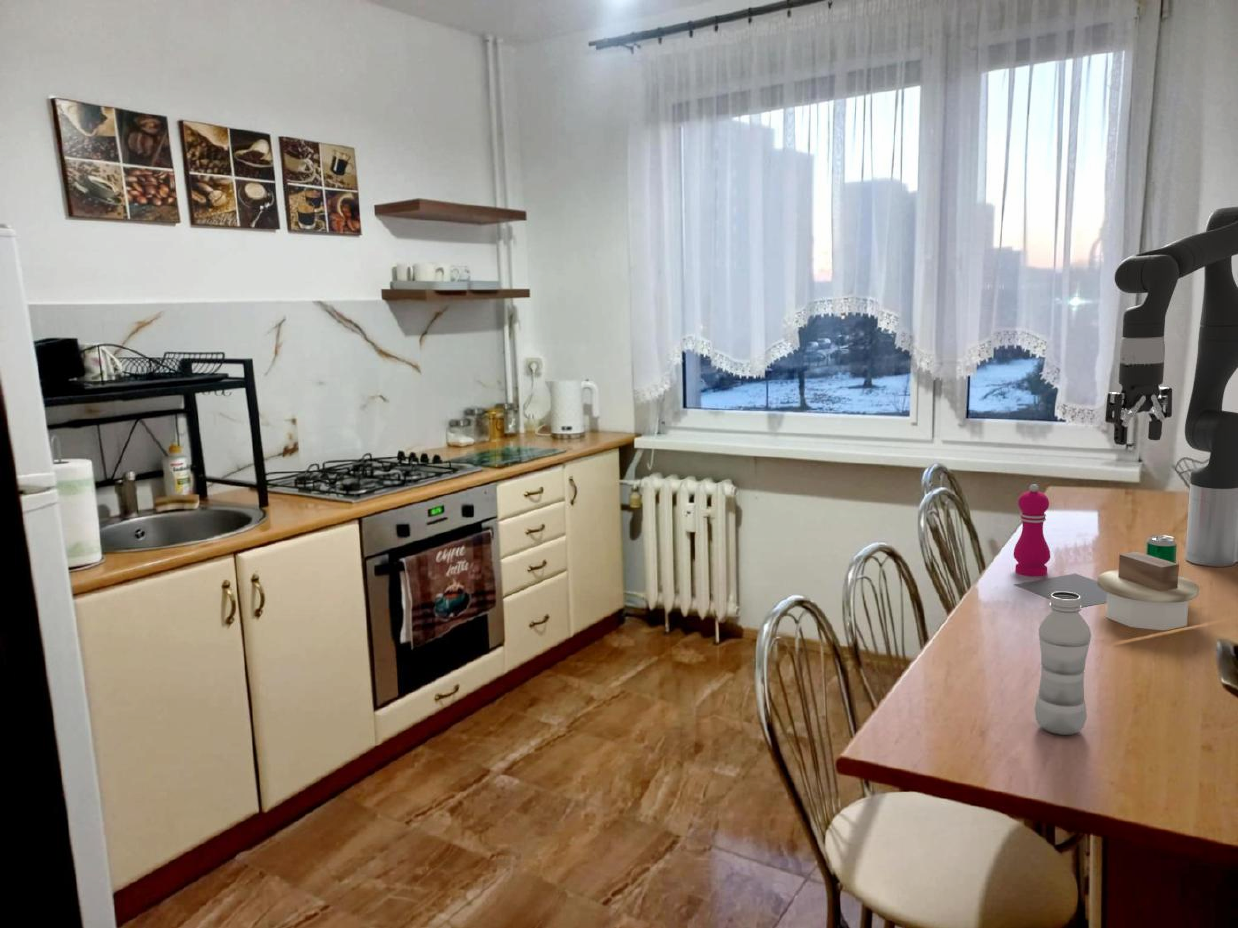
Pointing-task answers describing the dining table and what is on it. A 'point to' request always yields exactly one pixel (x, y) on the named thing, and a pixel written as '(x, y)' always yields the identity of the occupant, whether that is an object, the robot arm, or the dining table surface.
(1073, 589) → the mat
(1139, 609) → the bowl
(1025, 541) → the pepper mill
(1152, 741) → the dining table surface
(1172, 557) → the soda can
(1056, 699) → the plastic bottle
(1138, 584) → the lid
